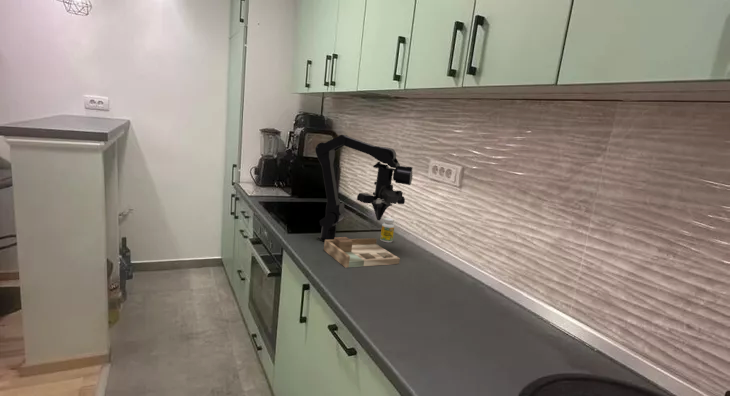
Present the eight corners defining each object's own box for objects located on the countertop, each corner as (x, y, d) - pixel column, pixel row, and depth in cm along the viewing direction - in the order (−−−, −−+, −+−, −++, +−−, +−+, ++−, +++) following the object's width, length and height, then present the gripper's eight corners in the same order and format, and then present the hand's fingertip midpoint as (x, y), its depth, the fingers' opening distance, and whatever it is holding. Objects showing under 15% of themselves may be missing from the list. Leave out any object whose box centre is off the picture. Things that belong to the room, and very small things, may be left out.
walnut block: (333, 247, 148) (334, 237, 147) (345, 247, 151) (346, 237, 150) (339, 252, 144) (340, 241, 143) (351, 251, 146) (352, 241, 146)
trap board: (323, 250, 150) (324, 239, 150) (373, 247, 162) (375, 238, 161) (345, 267, 135) (346, 256, 135) (399, 263, 146) (400, 253, 146)
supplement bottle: (390, 239, 177) (394, 218, 175) (393, 243, 172) (396, 221, 170) (378, 238, 176) (382, 217, 174) (381, 242, 171) (384, 220, 169)
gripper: (374, 183, 143) (368, 226, 146) (416, 185, 152) (409, 225, 155) (359, 178, 152) (353, 218, 155) (399, 180, 162) (393, 218, 165)
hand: (378, 220), depth 157 cm, fingers closed
